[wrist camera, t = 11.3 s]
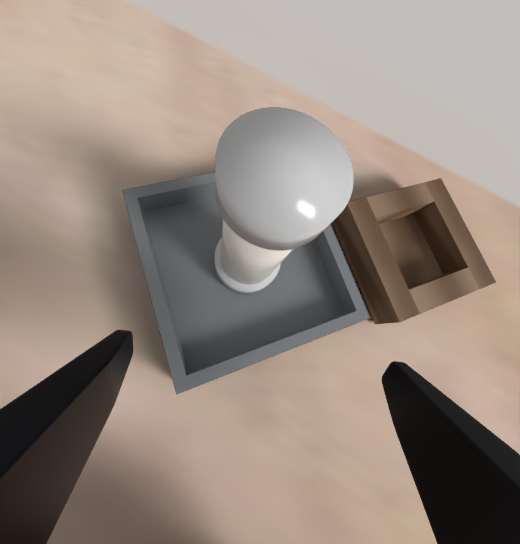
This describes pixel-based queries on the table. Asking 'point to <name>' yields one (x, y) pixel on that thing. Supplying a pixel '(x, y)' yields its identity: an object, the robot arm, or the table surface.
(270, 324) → the parts tray
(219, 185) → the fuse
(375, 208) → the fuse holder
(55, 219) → the table surface
